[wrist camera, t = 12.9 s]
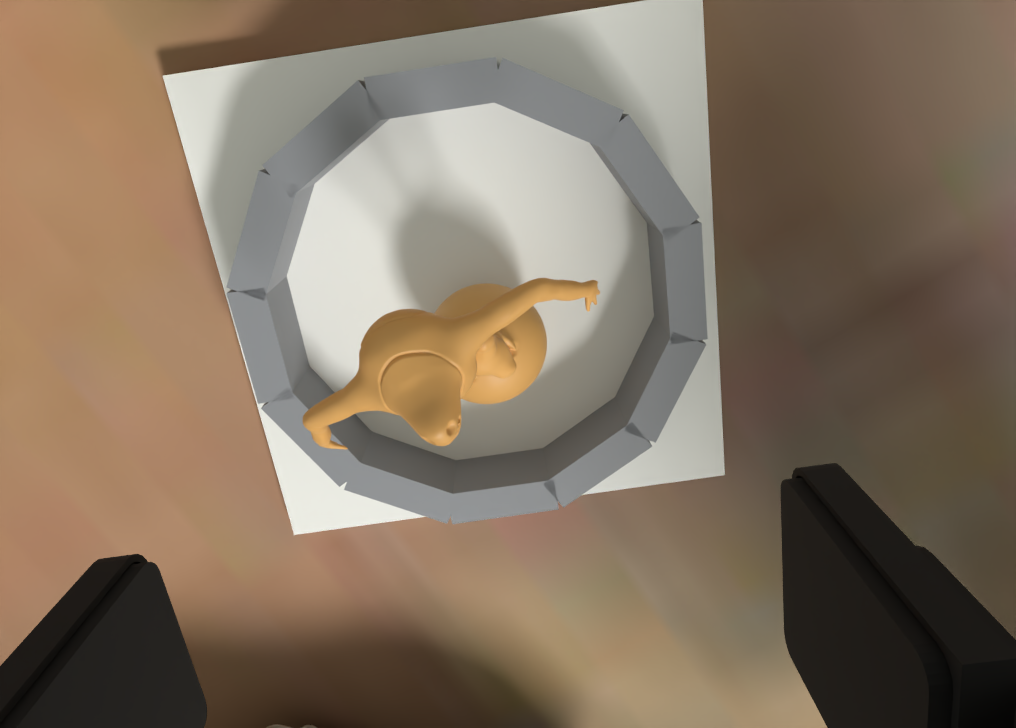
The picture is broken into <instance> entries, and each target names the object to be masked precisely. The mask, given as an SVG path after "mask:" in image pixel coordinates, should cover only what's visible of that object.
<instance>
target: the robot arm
mask: <svg viewBox="0 0 1016 728" xmlns="http://www.w3.org/2000/svg"><path fill="white" fill-rule="evenodd" d="M781 522H782V562H783V603H784V634H785V640H786V644H787V648H788V651H789V654H790V656H791V659H792V661H793V662H794V664H795V666H796V668H797V670H798V672H799V674H800V676H801V678H802V680H803V682H804V683H805V685H806V687H807V689H808V691H809V693H810V695H811V697H812V699H813V701H814V703H815V704H816V706H817V708H818V710H819V712H820V714H821V716H822V718H823V720H824V722H825V724H826V725H827V727H828V728H1016V640H1015V639H1014V638H1013V637H1012V636H1011V635H1010V634H1009V633H1008V632H1007V631H1006V630H1005V628H1004V627H1003V626H1002V625H1001V624H1000V623H999V622H998V621H997V620H996V619H995V618H994V617H993V616H992V615H991V614H990V613H989V612H988V611H987V610H986V609H985V608H984V607H983V606H982V605H981V604H980V603H979V602H978V601H977V599H976V598H975V597H974V596H973V595H972V594H971V593H970V592H969V591H968V590H967V589H966V588H965V587H964V586H963V585H962V584H961V583H960V582H959V581H958V580H957V579H956V578H955V577H954V576H953V575H952V574H951V573H950V572H949V570H948V569H947V568H946V567H945V566H944V565H943V564H942V563H941V562H940V561H939V560H938V559H937V558H936V557H935V556H934V555H933V554H932V553H931V552H929V551H928V550H927V549H926V548H924V547H920V546H915V545H914V544H913V543H912V542H911V541H910V540H909V539H908V537H907V536H906V535H905V534H904V533H903V532H902V531H901V530H900V529H899V528H898V527H897V526H896V525H895V524H894V523H893V522H892V521H891V519H890V518H889V517H888V516H887V515H886V514H885V513H884V512H883V511H882V510H881V509H880V508H879V507H878V506H877V505H876V504H875V503H874V501H873V500H872V499H871V498H870V497H869V496H868V495H867V494H866V493H865V492H864V491H863V490H862V489H861V488H860V487H859V486H858V485H857V483H856V482H855V481H854V480H853V479H852V478H851V477H850V476H849V475H848V474H847V473H846V472H845V471H844V470H843V469H842V468H841V467H840V466H839V465H838V464H836V463H832V464H824V465H816V466H809V467H801V468H796V469H795V470H794V471H793V475H792V479H786V480H783V481H782V484H781ZM206 717H207V705H206V701H205V697H204V695H203V692H202V689H201V686H200V683H199V681H198V678H197V675H196V672H195V669H194V666H193V664H192V661H191V658H190V655H189V652H188V649H187V647H186V644H185V641H184V638H183V635H182V633H181V630H180V627H179V624H178V621H177V618H176V616H175V613H174V610H173V607H172V604H171V601H170V599H169V596H168V593H167V590H166V587H165V584H164V582H163V579H162V576H161V573H160V571H159V569H158V567H157V565H156V564H155V563H152V562H147V560H146V559H145V558H144V557H143V556H142V555H139V554H133V555H126V556H118V557H110V558H103V559H98V560H97V561H96V562H94V563H93V564H92V565H91V566H90V567H89V569H88V570H87V571H86V572H85V573H84V574H83V575H82V576H81V577H80V578H79V580H78V581H77V582H76V583H75V584H74V585H73V586H72V587H71V588H70V590H69V591H68V592H67V593H66V594H65V595H64V596H63V597H62V598H61V600H60V601H59V602H58V603H57V604H56V605H55V606H54V607H53V608H52V609H51V611H50V612H49V613H48V614H47V615H46V616H45V617H44V618H43V619H42V621H41V622H40V623H39V624H38V625H37V626H36V627H35V628H34V629H33V630H32V632H31V633H30V634H29V635H28V636H27V637H26V638H25V639H24V640H23V642H22V643H21V644H20V645H19V646H18V647H17V648H16V649H15V650H14V652H13V653H12V654H11V655H10V656H9V657H8V658H7V659H6V660H5V661H4V663H3V664H2V665H1V666H0V728H204V726H205V723H206Z"/></svg>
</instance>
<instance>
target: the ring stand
mask: <svg viewBox="0 0 1016 728" xmlns="http://www.w3.org/2000/svg"><path fill="white" fill-rule="evenodd" d="M163 79H164V82H165V86H166V89H167V93H168V96H169V100H170V103H171V106H172V110H173V113H174V117H175V120H176V124H177V127H178V131H179V134H180V138H181V141H182V145H183V148H184V152H185V155H186V159H187V162H188V166H189V169H190V173H191V176H192V180H193V183H194V187H195V190H196V194H197V197H198V201H199V204H200V208H201V211H202V215H203V218H204V222H205V225H206V229H207V232H208V236H209V239H210V242H211V246H212V249H213V253H214V256H215V260H216V263H217V267H218V270H219V274H220V277H221V281H222V284H223V288H224V291H225V295H226V298H227V302H228V305H229V309H230V312H231V316H232V319H233V323H234V326H235V330H236V333H237V337H238V340H239V344H240V347H241V351H242V354H243V358H244V361H245V365H246V368H247V372H248V375H249V378H250V382H251V385H252V389H253V392H254V396H255V399H256V403H257V406H258V410H259V413H260V417H261V420H262V424H263V427H264V431H265V434H266V438H267V441H268V445H269V448H270V452H271V455H272V459H273V462H274V466H275V469H276V473H277V476H278V480H279V483H280V487H281V490H282V494H283V497H284V501H285V504H286V507H287V511H288V514H289V518H290V521H291V525H292V528H293V532H294V535H297V534H304V533H311V532H318V531H325V530H333V529H340V528H347V527H354V526H362V525H369V524H376V523H383V522H390V521H398V520H405V519H412V518H419V517H428V518H432V519H435V520H438V521H441V522H444V523H448V520H449V518H450V516H451V520H452V524H456V523H464V522H471V521H478V520H485V519H493V518H500V517H507V516H514V515H522V514H529V513H536V512H543V511H550V510H558V502H559V503H560V504H561V505H562V506H563V507H565V506H566V505H568V504H569V503H571V502H572V501H574V500H575V499H577V498H578V497H580V496H581V495H585V494H592V493H599V492H607V491H614V490H621V489H628V488H635V487H643V486H650V485H657V484H664V483H672V482H679V481H686V480H693V479H700V478H708V477H715V476H722V475H725V468H724V447H723V425H722V404H721V382H720V361H719V340H718V318H717V297H716V275H715V254H714V232H713V211H712V189H711V168H710V146H709V125H708V103H707V82H706V60H705V39H704V17H703V0H644V1H638V2H631V3H625V4H618V5H612V6H606V7H599V8H593V9H586V10H580V11H574V12H567V13H561V14H554V15H548V16H542V17H535V18H529V19H522V20H516V21H510V22H503V23H497V24H490V25H484V26H478V27H471V28H465V29H458V30H452V31H446V32H439V33H433V34H426V35H420V36H414V37H407V38H401V39H394V40H388V41H382V42H375V43H369V44H362V45H356V46H350V47H343V48H337V49H331V50H324V51H318V52H311V53H305V54H299V55H292V56H286V57H279V58H273V59H267V60H260V61H254V62H247V63H241V64H235V65H228V66H222V67H215V68H209V69H203V70H196V71H190V72H183V73H177V74H171V75H164V76H163ZM537 278H549V279H554V280H572V281H577V282H581V283H583V282H586V281H589V280H596V281H598V284H597V286H598V290H599V291H600V294H599V295H597V296H596V298H597V305H594V303H593V302H591V305H590V311H589V312H588V311H587V310H586V306H585V297H584V298H580V299H577V300H572V301H561V300H550V301H545V302H538V303H536V304H535V305H533V306H534V307H535V308H536V310H537V311H538V313H539V315H540V317H541V319H542V321H543V324H544V327H545V331H546V336H547V351H546V357H545V361H544V364H543V367H542V369H541V371H540V373H539V375H538V376H537V378H536V379H535V381H534V382H533V383H532V384H531V385H530V386H529V387H528V388H527V389H526V390H525V391H524V392H522V393H521V394H519V395H518V396H516V397H514V398H512V399H510V400H507V401H504V402H501V403H495V404H478V403H473V402H469V401H466V400H463V399H461V427H460V431H459V434H458V436H457V437H456V438H455V439H454V440H453V441H452V442H451V443H450V444H449V445H446V446H436V445H433V444H431V443H429V442H427V441H425V440H424V439H422V438H421V437H420V436H419V435H418V434H417V433H416V432H415V431H414V429H413V428H412V427H411V426H410V425H409V424H408V423H407V422H406V421H405V420H404V419H403V418H402V417H401V416H400V415H395V414H391V413H388V412H384V411H365V412H359V413H356V414H353V415H352V416H350V417H348V418H346V419H344V420H341V421H338V422H336V423H333V424H330V425H328V426H329V428H330V430H331V439H330V440H331V441H333V442H337V443H338V444H340V445H344V446H346V447H347V448H348V449H346V450H345V449H330V448H324V447H321V446H319V445H318V444H317V443H316V442H315V441H314V440H313V438H312V435H311V432H310V431H309V430H308V429H306V428H305V427H304V425H303V416H304V414H305V413H306V412H307V411H308V410H309V409H310V408H312V407H313V406H314V405H316V404H317V403H319V402H320V401H322V400H324V399H325V398H327V397H329V396H330V395H332V394H334V393H335V392H337V391H339V390H341V389H343V388H344V387H345V386H346V385H347V384H348V383H349V382H350V381H351V380H352V379H353V378H354V377H355V376H356V374H357V372H358V369H359V351H360V349H361V342H362V340H363V338H364V336H365V334H366V332H367V331H368V329H369V328H370V327H371V325H372V324H373V323H374V322H375V321H377V320H378V319H379V318H380V317H382V316H383V315H385V314H387V313H390V312H393V311H396V310H400V309H419V310H424V311H426V312H431V313H435V311H436V310H437V309H438V307H439V306H440V305H441V304H442V302H443V301H444V300H445V299H447V298H448V297H449V296H450V295H452V294H453V293H455V292H456V291H458V290H460V289H462V288H465V287H467V286H471V285H475V284H483V283H490V284H498V285H502V286H506V287H508V288H511V289H513V288H515V287H517V286H519V285H521V284H523V283H525V282H528V281H530V280H533V279H537Z"/></svg>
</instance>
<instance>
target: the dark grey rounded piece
mask: <svg viewBox="0 0 1016 728" xmlns="http://www.w3.org/2000/svg"><path fill="white" fill-rule="evenodd" d="M266 728H292V727H288V726H284V725H277V724H274V725H270V726H267V727H266ZM302 728H316V727H315V726H314V725H305V726H303V727H302Z"/></svg>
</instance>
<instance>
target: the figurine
mask: <svg viewBox="0 0 1016 728" xmlns="http://www.w3.org/2000/svg"><path fill="white" fill-rule="evenodd" d="M597 284H598V281H596V280H589V281H586V282H583V283H581V282H577V281H572V280H554V279H549V278H537V279H533V280H530V281H528V282H525V283H523V284H521V285H519V286H517V287H515V288H513V289H511V288H508V287H506V286H502V285H498V284H490V283H483V284H475V285H471V286H467V287H465V288H462V289H460V290H458V291H456V292H455V293H453V294H452V295H450V296H449V297H448V298H447V299H445V300H444V301H443V302H442V304H441V305H440V306H439V307H438V309H437V310H436V311H435V313H431V312H426V311H424V310H419V309H400V310H396V311H393V312H390V313H387V314H385V315H383V316H382V317H380V318H379V319H378V320H377V321H375V322H374V323H373V324H372V325H371V327H370V328H369V329H368V331H367V332H366V334H365V336H364V338H363V340H362V342H361V349H360V351H359V369H358V372H357V374H356V376H355V377H354V378H353V379H352V380H351V381H350V382H349V383H348V384H347V385H346V386H345V387H344V388H343V389H341V390H339V391H337V392H335V393H334V394H332V395H330V396H329V397H327V398H325V399H324V400H322V401H320V402H319V403H317V404H316V405H314V406H313V407H312V408H310V409H309V410H308V411H307V412H306V413H305V414H304V416H303V425H304V427H305V428H306V429H308V430H309V431H310V432H311V435H312V438H313V440H314V441H315V442H316V443H317V444H318V445H319V446H321V447H324V448H330V449H345V450H346V449H348V448H347V447H346V446H344V445H340V444H338V443H337V442H333V441H331V440H330V439H331V430H330V428H329V426H328V425H330V424H333V423H336V422H338V421H341V420H344V419H346V418H348V417H350V416H352V415H353V414H356V413H359V412H365V411H384V412H388V413H391V414H395V415H400V416H401V417H402V418H403V419H404V420H405V421H406V422H407V423H408V424H409V425H410V426H411V427H412V428H413V429H414V431H415V432H416V433H417V434H418V435H419V436H420V437H421V438H422V439H424V440H425V441H427V442H429V443H431V444H433V445H436V446H446V445H449V444H450V443H451V442H452V441H453V440H454V439H455V438H456V437H457V436H458V434H459V431H460V427H461V399H463V400H466V401H469V402H473V403H478V404H495V403H501V402H504V401H507V400H510V399H512V398H514V397H516V396H518V395H519V394H521V393H522V392H524V391H525V390H526V389H527V388H528V387H529V386H530V385H531V384H532V383H533V382H534V381H535V379H536V378H537V376H538V375H539V373H540V371H541V369H542V367H543V364H544V361H545V357H546V351H547V336H546V331H545V327H544V324H543V321H542V319H541V317H540V315H539V313H538V311H537V310H536V308H535V307H534V306H533V305H535V304H536V303H538V302H545V301H550V300H561V301H572V300H577V299H580V298H584V297H585V306H586V310H587V311H588V312H589V311H590V305H591V302H593V303H594V305H597V298H596V296H597V295H599V294H600V291H599V290H598V286H597Z"/></svg>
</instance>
